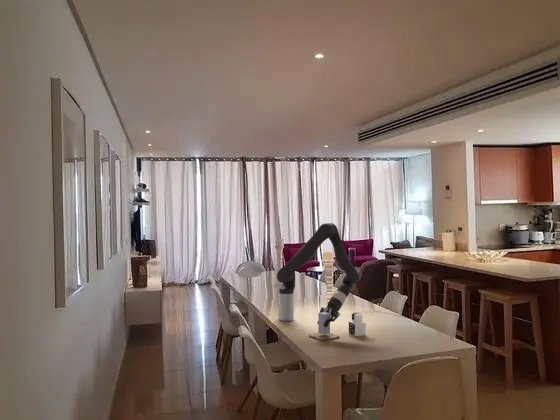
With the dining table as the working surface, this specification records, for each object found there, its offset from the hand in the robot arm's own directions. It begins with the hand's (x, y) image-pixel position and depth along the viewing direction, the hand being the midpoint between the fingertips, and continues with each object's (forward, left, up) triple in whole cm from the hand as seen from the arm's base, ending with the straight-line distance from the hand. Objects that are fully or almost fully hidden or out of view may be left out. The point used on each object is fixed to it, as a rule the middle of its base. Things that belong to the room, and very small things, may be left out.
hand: (321, 325), depth 250 cm
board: (0, +2, -7) cm, 7 cm away
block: (0, +2, -5) cm, 5 cm away
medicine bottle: (+7, +21, -7) cm, 23 cm away
